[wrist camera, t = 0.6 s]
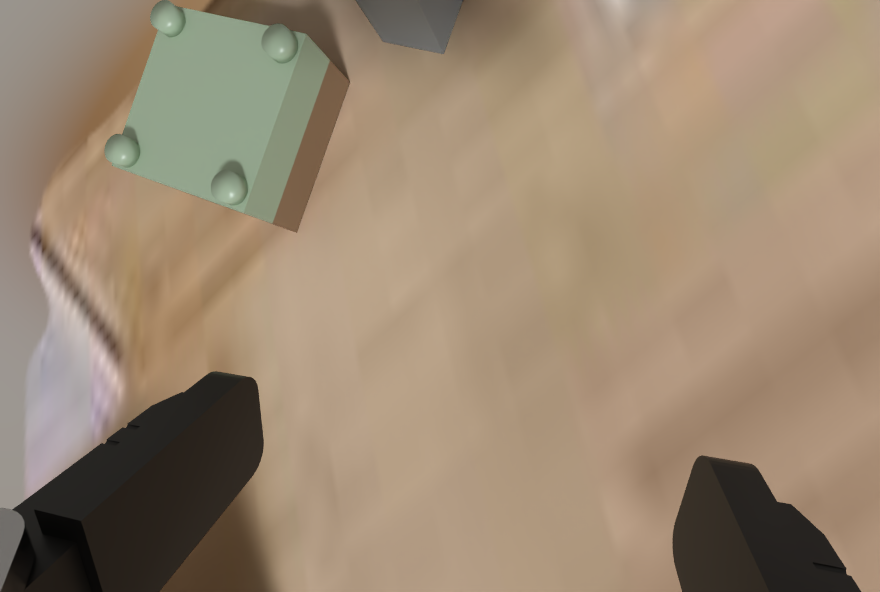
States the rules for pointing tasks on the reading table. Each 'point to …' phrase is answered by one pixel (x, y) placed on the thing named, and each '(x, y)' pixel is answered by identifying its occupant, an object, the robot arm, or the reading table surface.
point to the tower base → (232, 113)
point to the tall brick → (413, 21)
